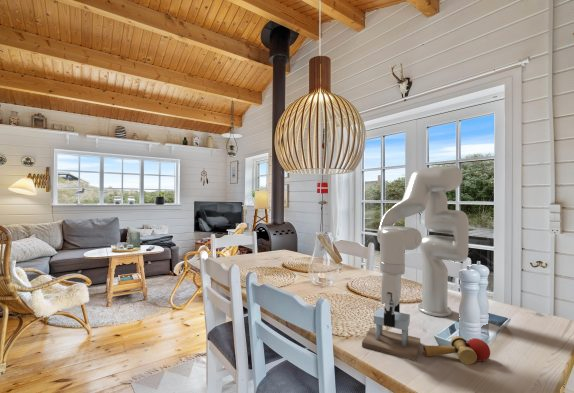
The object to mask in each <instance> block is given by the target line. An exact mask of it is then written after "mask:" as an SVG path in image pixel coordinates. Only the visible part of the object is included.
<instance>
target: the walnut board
mask: <svg viewBox="0 0 574 393" xmlns="http://www.w3.org/2000/svg"><path fill="white" fill-rule="evenodd" d="M420 344H421V337H420V338H419V337H416V336H413V335H408V341H407V346H406V347H403V346H402V333H398V332H394V331H389V330H386V329H385V330H384V329H382V335H380V340H376V327H371V326H370V327H369V330H368V331H367V333H366V335H365V336H364V338H363V340H362V342H361V347H362V348H365V349H369V350H373V351H377V352H381V353H384V354H387V355H388V354H389V355H392V356H396V357H401V358H403V359H408V360H411V361H415V362H417V361H418V356H419V350H420V346H421V345H420Z"/></svg>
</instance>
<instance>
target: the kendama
mask: <svg viewBox="0 0 574 393" xmlns="http://www.w3.org/2000/svg"><path fill="white" fill-rule="evenodd" d="M422 348H423V349H422V350H423V354H424V356H425V357H433V356H440V355H449V354H454V353H457V357H458V359H459V361H460V362H461V363H462V364H465V365H473V364H474V363H476V361H478V362H485V361H487V360H489V358H490V356H491V350H490V347H489V345H488V343H487V342H485V341H484V340H483V339H480V338H471V339H469V340H468V341H466V339H465V338H464V337H463V336H460V335H459V336H458V335H456V336H453V337H452V338H451V340H450V345H449V346H448V345H426V344H424V345H423V346H422Z"/></svg>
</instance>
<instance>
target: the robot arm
mask: <svg viewBox="0 0 574 393" xmlns="http://www.w3.org/2000/svg"><path fill="white" fill-rule="evenodd" d="M462 182H463V172H462V170H461V168H459V167H458V166H456V165H455V166H438V167H435V166H434V167H423V168H420V169H417V170H415V171H413V172H412V173H411V175H410V177H409V179H408V182H407V185H406V188H405V190H404V193H403V196H402V199H401V200H400V201H398V202H397V203H396V204H394V205H393V206H391V208H390V209H388V210H387V211H386V212H385V213H384V214H383V216H382V218H381V220H380V223H379V225H378V229H377V234H376V239H377V242H378V243H379V249H380V250H379V272H380V273H382V274H381V283H380V284H381V288H380V304H381V305H384V308H383V309H384V325H385V326H384V327H387V326H389V327H388V328H392V327H395V314H394V311H395V312H400V313H401V310H400V308H401V306H400V305H401V304H400V300H401V298H402V297H401V296H402V275H404V274H405V273H406V272H405V267H406V265H405V262H406V251H411V250H412V251H413V250H416V249H418V248H419V247H420V248H419V249H420V253H421V261H422V262H421V264H422V266H421V268H422V271H421V272H422V275H421V276H422V278H421V280H422V281H421V302H420V303H419V304H418V305H417V308H418V310H419V311H420V312H422V313H423V314H426V315H429V316H433V317H444V318H445V317H450V316H452V313H453V312H452V311H453V310H452V309H451V308H450V307H448V301H449V300H448V296H449V295H448V293H449V292H448V291H449V290H448V289H449V287H448V286H449V284H448V283H449V282H448V280H449V278H448V277H449V273H448V272H449V271H448V267H447V266H446V265H447V264H445V262H444V261H451V262H457V263H463V262H465V261H467V259H468V256H469V235H470V234H469V232H470V230H469V229H470V228H469V223H470V222H469V218H468V215H467V213H466V212H464V211H462V210H457V209H456V210H455V209H448V197H447V194H446V193H445V192H450V191H453V190H455V189H457V188H459V187H460V186H461V184H462ZM422 212H424V228H425V229H426V230H427V231H428V232H432V233H433V232H434V233H440V234H441V233H442V234H452V235H453V236H445V235H436V234H435V235H433V234H429V235H425V236H423V237H422V234H421V232H420V231H419V230H418V228H415V227H410V226H402V225H401V226H400V225H395V224H397V223H398V222H399V221H401V220H402V219H405V218H408V217H412V216H415V215H417V214H420V213H422ZM443 260H444V261H443Z"/></svg>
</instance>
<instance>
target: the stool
mask: <svg viewBox="0 0 574 393" xmlns="http://www.w3.org/2000/svg"><path fill="white" fill-rule="evenodd" d="M394 314H395V327H391V328H393V329H398V330H401V334H402V346H403V347H406V346H407V341H408V336H409V326H410V323H411V321H410V320H411V314H409V313H404V312H401V311H400V312H395V311H394ZM373 324H375V328H376V340H380V335H382V330H383V326H384V327H388V328H390V327H389V326H385V325H384V308H377V309H376V312H375V313H374V315H373Z"/></svg>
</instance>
